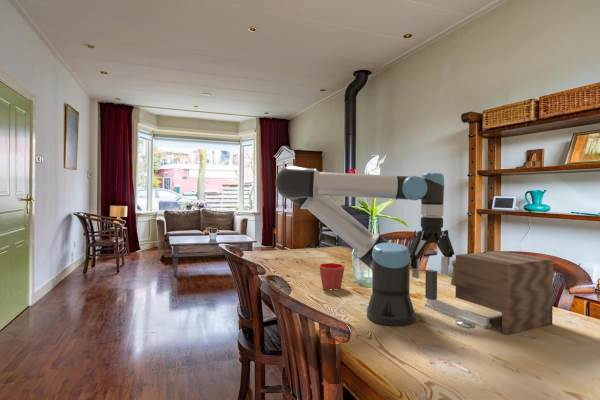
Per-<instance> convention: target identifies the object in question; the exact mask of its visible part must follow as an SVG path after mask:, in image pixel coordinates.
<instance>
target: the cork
mask: <svg viewBox="0 0 600 400" xmlns="http://www.w3.org/2000/svg"><path fill="white" fill-rule="evenodd" d="M451 266H452V272H451V273H452V274H451V279H450V285H452V286H455V287H456V259H452V261H451Z"/></svg>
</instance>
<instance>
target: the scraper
mask: <svg viewBox="0 0 600 400" xmlns="http://www.w3.org/2000/svg"><path fill="white" fill-rule="evenodd" d="M424 282H425V286H424V287H425V288H424V289H425V296H424V297H425V299H426V302H425V303H424V307H426V308H430V309H432V310H435V311H438V312H440V313H442V314H446V316H447V315H448V316H450V317H452V318H455V319H457V320H468V321H471V322H473V326H476V327H479V328H481V329H488V328H492V323H490V317H488V316H485V315H481V314H478V313H476V312H473V311H470V310H467V309H466V308H461V307H459V306H456V305H453V304H450V303H448V302H444V301H443V300H439V299H438V270H435V269H425V281H424Z"/></svg>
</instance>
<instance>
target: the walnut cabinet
mask: <svg viewBox="0 0 600 400" xmlns="http://www.w3.org/2000/svg"><path fill="white" fill-rule="evenodd" d="M455 260H456V286H455V299H456V298H457V299H459V300H462V301H466V302H469V303H472V304H475V305H478V306H481V307H484V308H488V309H490V310H493V311H496V312H500V313H501V334H502V335H506V336H508V335H513V334H517V333H521V332H524V331H530V330H533V329H538V328H542V327H546V326H550V325H553V310H554V309H553V302H554V300H553V296H554V295H553V293H554V292H553V291H554V288H553V287H554V286H553V285H554V259H552V258H546V257H540V256H535V255H527V254H521V253H513V252H508V251H503V250H502V251H501V250H495V251H485V252H476V253H475V252H474V253H464V254H455Z"/></svg>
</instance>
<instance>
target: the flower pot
mask: <svg viewBox="0 0 600 400" xmlns="http://www.w3.org/2000/svg"><path fill="white" fill-rule="evenodd" d="M344 272H345V265H344V264H341V263H335V262H331V263H330V262H328V263H327V262H326V263H321V264H319V273H320V280H321V284H322V285H321V286H322V289H324V288H325V289H324V290H326V289H332V290H331V291H335V290H334V289H339V290H341V288H342V284H343V278H344Z"/></svg>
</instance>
